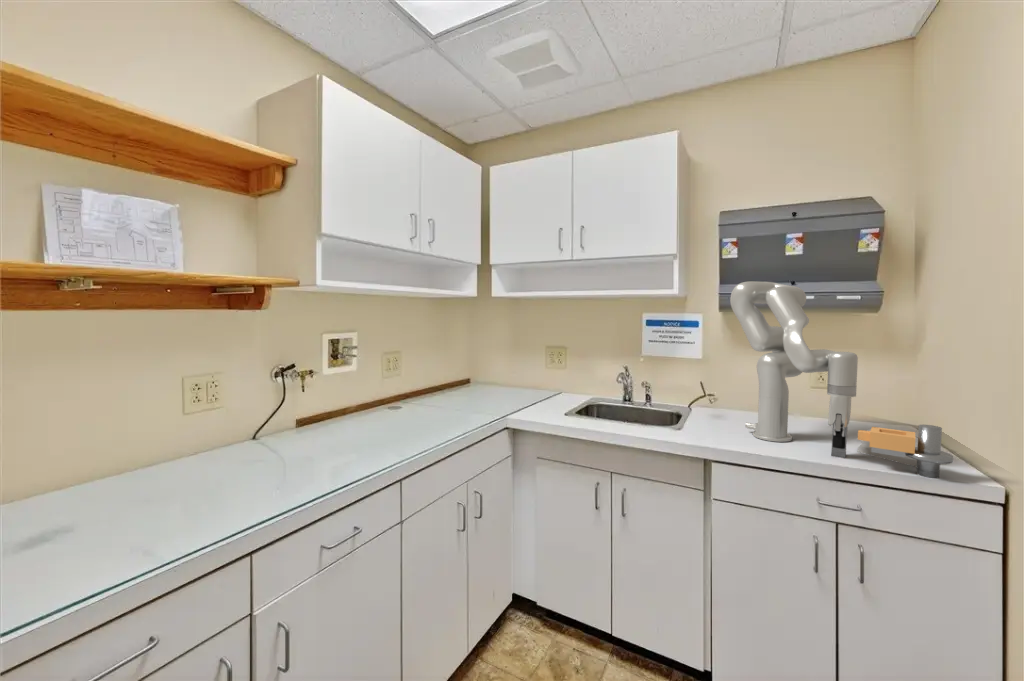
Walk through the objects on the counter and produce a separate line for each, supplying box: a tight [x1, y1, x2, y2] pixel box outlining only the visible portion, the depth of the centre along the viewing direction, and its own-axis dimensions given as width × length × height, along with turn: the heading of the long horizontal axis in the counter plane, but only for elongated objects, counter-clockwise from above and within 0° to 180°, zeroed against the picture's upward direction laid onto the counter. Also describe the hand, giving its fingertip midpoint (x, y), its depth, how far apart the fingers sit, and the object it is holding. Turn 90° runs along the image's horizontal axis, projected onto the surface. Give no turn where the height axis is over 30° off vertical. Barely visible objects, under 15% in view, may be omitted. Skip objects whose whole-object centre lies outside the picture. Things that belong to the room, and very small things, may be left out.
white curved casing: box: [857, 428, 918, 467], centre depth 143 cm, size 17×5×10 cm, turn 25°
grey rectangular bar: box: [830, 423, 848, 459], centre depth 144 cm, size 4×2×11 cm, turn 48°
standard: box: [871, 424, 954, 479], centre depth 130 cm, size 18×10×14 cm, turn 48°
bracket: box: [857, 426, 916, 454], centre depth 133 cm, size 13×8×4 cm, turn 48°
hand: (839, 446), depth 144 cm, fingers closed on grey rectangular bar, 2 cm apart
